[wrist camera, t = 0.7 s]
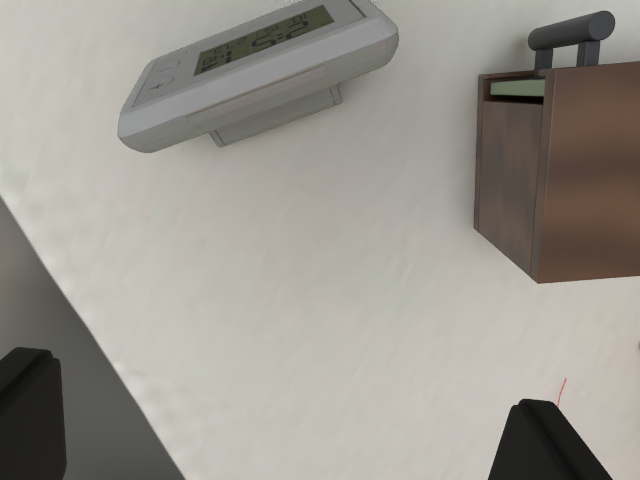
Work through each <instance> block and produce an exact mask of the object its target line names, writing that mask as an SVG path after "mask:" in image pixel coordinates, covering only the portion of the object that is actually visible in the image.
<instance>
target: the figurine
mask: <svg viewBox="0 0 640 480" xmlns="http://www.w3.org/2000/svg"><path fill="white" fill-rule="evenodd" d="M565 382H566V378H565V381H564V384H565ZM564 384H563V386H562V389H561V392H562V390H563V387H564ZM561 392H560V395H561ZM560 395H559V400H560ZM559 400H558V405H559ZM558 405H557V407H558Z"/></svg>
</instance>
